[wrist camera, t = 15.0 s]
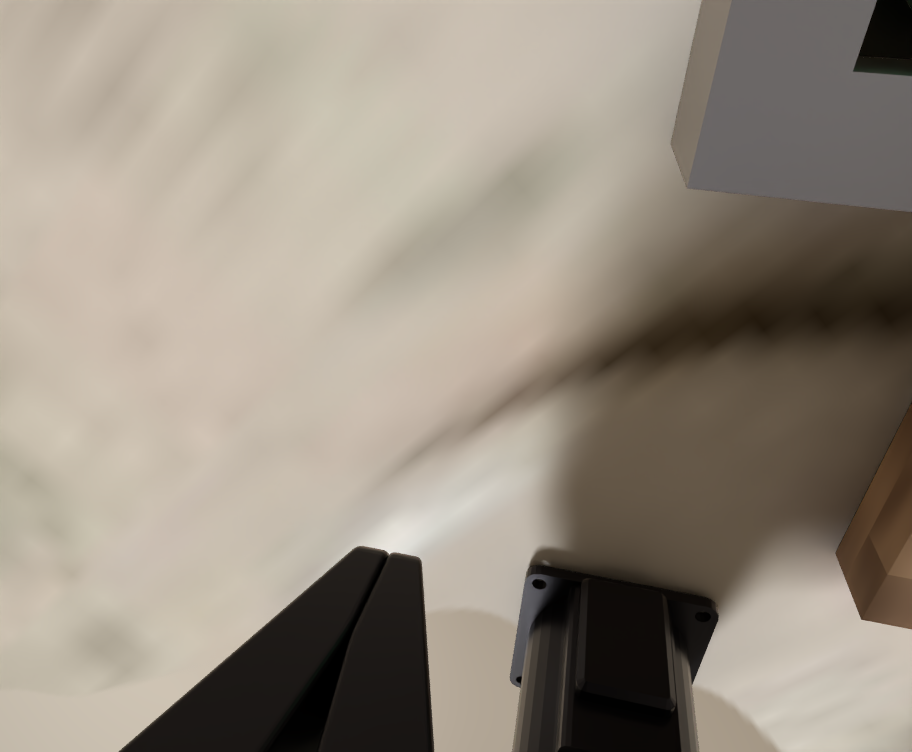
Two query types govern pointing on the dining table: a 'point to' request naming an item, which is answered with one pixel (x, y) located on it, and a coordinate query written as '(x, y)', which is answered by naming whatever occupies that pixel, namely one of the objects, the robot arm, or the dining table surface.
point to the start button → (909, 3)
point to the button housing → (795, 106)
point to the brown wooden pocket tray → (883, 539)
